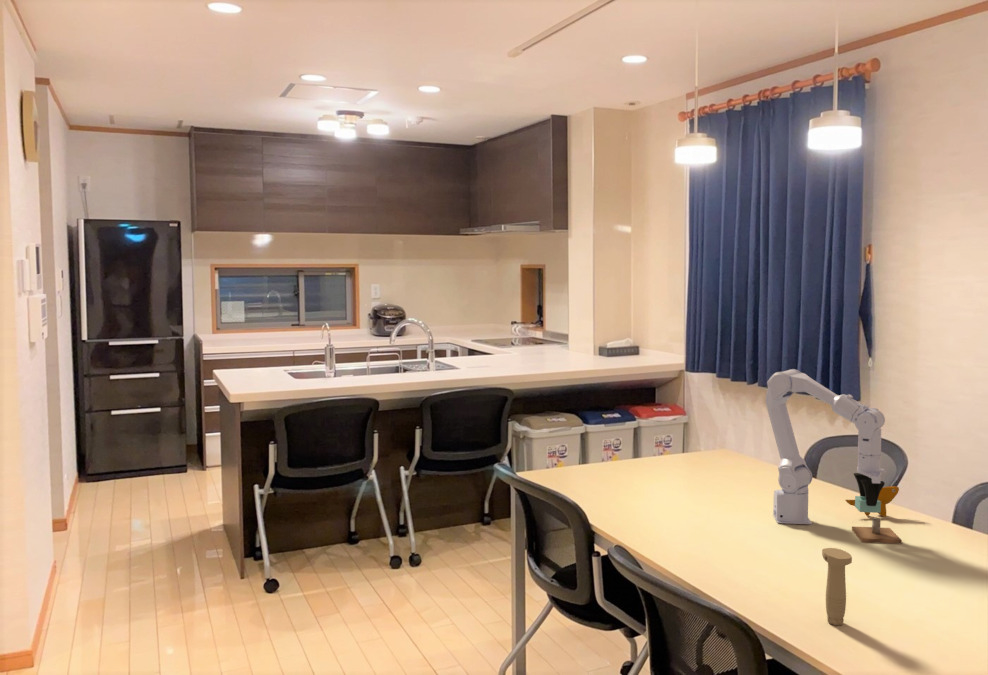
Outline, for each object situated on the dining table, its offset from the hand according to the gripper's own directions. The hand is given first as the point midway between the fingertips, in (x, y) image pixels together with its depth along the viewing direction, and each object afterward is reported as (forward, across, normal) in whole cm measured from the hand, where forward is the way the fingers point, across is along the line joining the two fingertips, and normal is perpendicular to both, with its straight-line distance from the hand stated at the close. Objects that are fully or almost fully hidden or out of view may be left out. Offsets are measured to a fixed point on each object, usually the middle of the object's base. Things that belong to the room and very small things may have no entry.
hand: (868, 502), depth 219 cm
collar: (+2, 0, 0) cm, 2 cm away
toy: (+10, +19, -6) cm, 22 cm away
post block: (+10, 0, -2) cm, 10 cm away
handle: (+10, -57, +21) cm, 62 cm away
